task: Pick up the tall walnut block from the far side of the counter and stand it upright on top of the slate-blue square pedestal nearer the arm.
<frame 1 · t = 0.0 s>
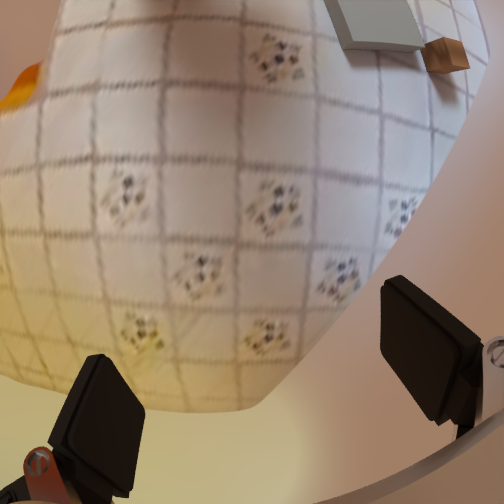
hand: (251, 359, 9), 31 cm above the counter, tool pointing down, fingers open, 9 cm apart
walnut block: (432, 60, 33), on the counter
pedestal: (366, 14, 30), on the counter
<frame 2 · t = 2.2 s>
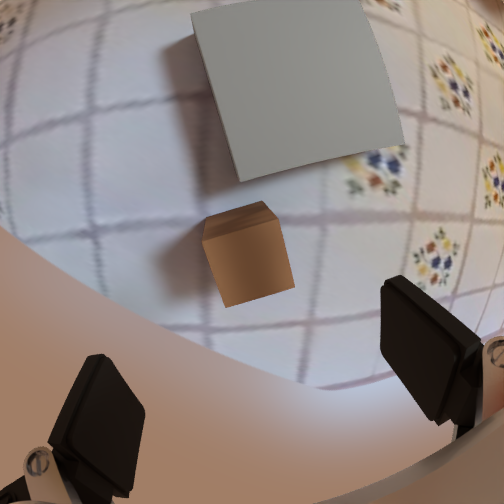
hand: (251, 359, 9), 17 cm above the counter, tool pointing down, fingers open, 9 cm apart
walnut block: (242, 235, 25), on the counter
pedestal: (294, 82, 21), on the counter
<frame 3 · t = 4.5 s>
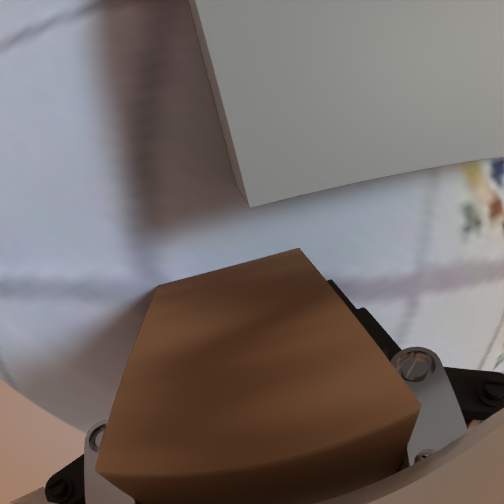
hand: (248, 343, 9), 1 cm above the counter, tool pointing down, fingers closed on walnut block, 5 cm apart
walnut block: (245, 327, 10), on the counter, touching gripper
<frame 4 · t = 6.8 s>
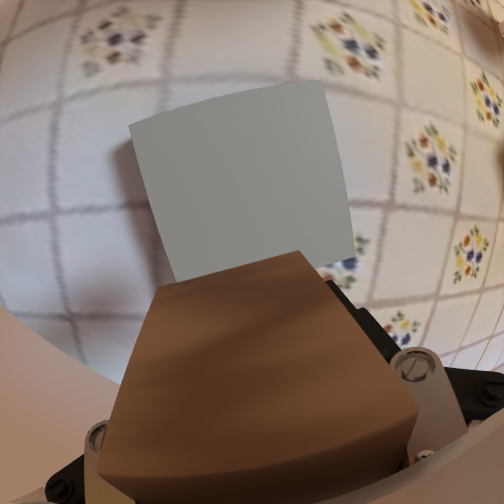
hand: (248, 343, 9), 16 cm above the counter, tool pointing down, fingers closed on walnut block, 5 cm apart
walnut block: (245, 328, 10), point 15 cm above the counter, touching gripper
pedestal: (245, 186, 23), on the counter
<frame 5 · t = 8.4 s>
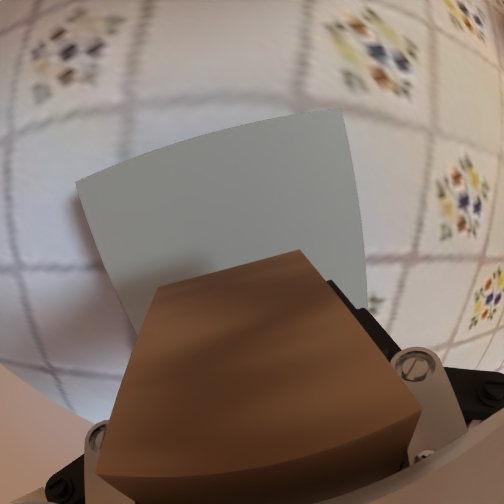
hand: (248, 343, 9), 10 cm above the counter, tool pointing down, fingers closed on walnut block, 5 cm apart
walnut block: (245, 328, 10), point 9 cm above the counter, touching gripper
pedestal: (235, 245, 18), on the counter
when the fingers open (6 cm above the counter, at t = 9.4 s): walnut block drops 1 cm, resting on pedestal.
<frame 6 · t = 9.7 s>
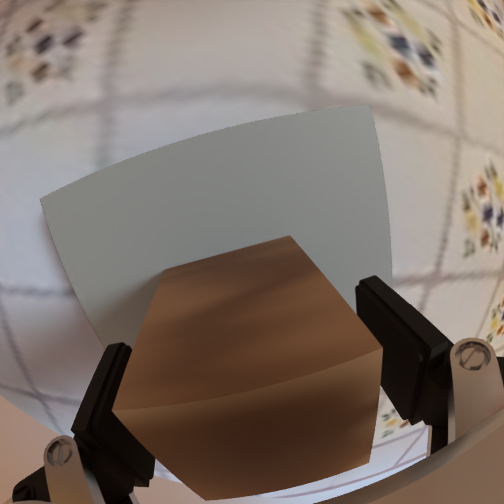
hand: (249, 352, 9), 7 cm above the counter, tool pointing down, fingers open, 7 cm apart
walnut block: (243, 307, 12), point 4 cm above the counter, touching pedestal
pedestal: (236, 271, 15), on the counter
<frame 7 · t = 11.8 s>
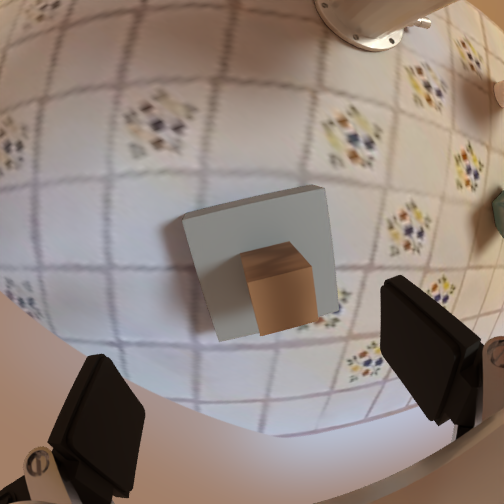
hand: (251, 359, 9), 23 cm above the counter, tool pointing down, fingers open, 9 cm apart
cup: (499, 95, 29), on the counter
walnut block: (269, 270, 28), point 4 cm above the counter, touching pedestal
flower pot: (498, 208, 35), on the counter
pedestal: (262, 257, 32), on the counter
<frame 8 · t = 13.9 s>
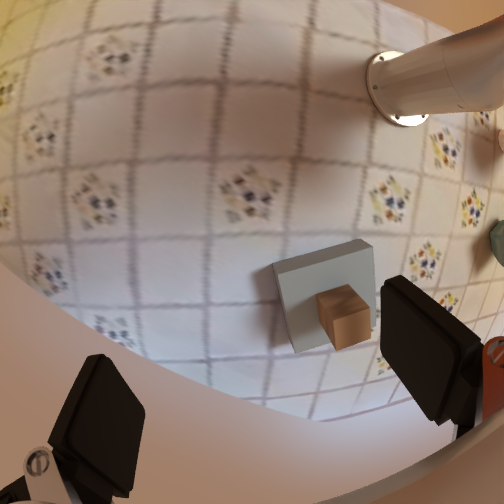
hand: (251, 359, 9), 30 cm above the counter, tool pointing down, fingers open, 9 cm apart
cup: (502, 140, 38), on the counter
walnut block: (333, 303, 39), point 4 cm above the counter, touching pedestal
flower pot: (494, 235, 45), on the counter
pedestal: (324, 291, 43), on the counter
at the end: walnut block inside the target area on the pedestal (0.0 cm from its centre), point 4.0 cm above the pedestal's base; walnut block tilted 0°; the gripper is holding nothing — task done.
